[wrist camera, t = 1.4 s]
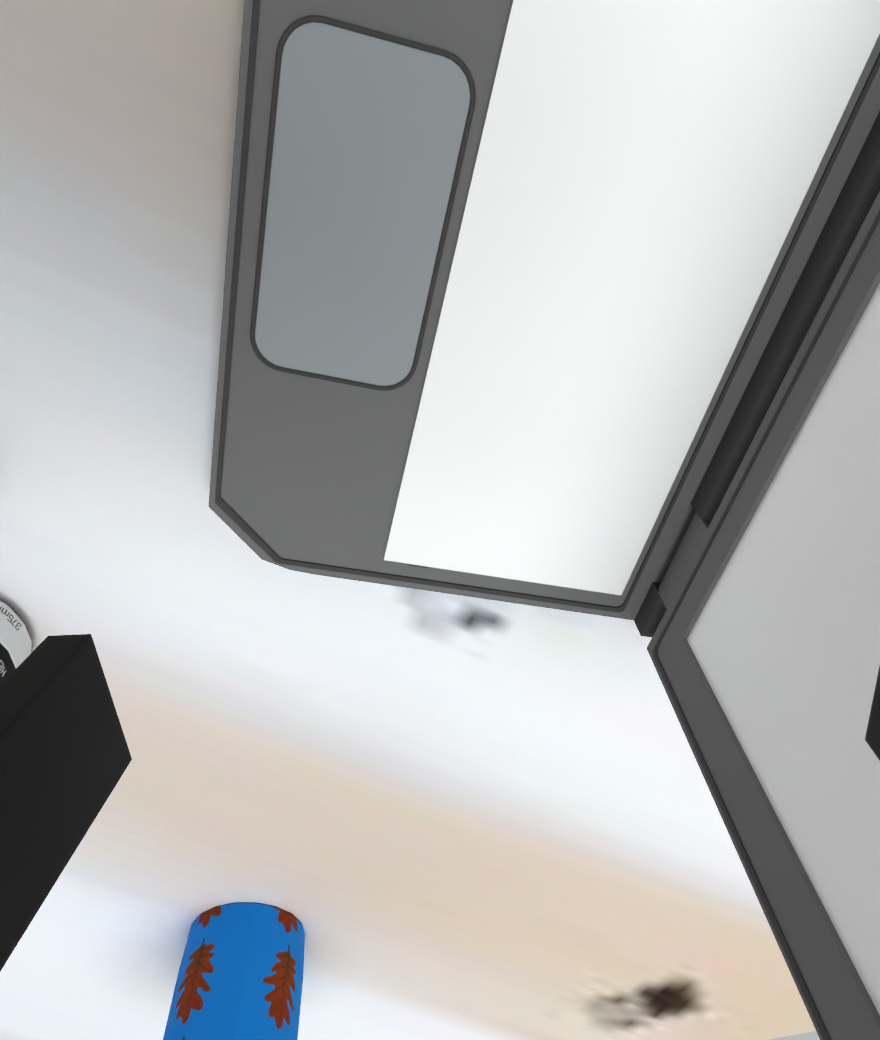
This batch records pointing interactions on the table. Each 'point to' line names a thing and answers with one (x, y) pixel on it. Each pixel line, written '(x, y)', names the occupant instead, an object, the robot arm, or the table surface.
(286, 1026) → the thermos
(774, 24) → the laptop
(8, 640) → the supplement can
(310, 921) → the table surface
